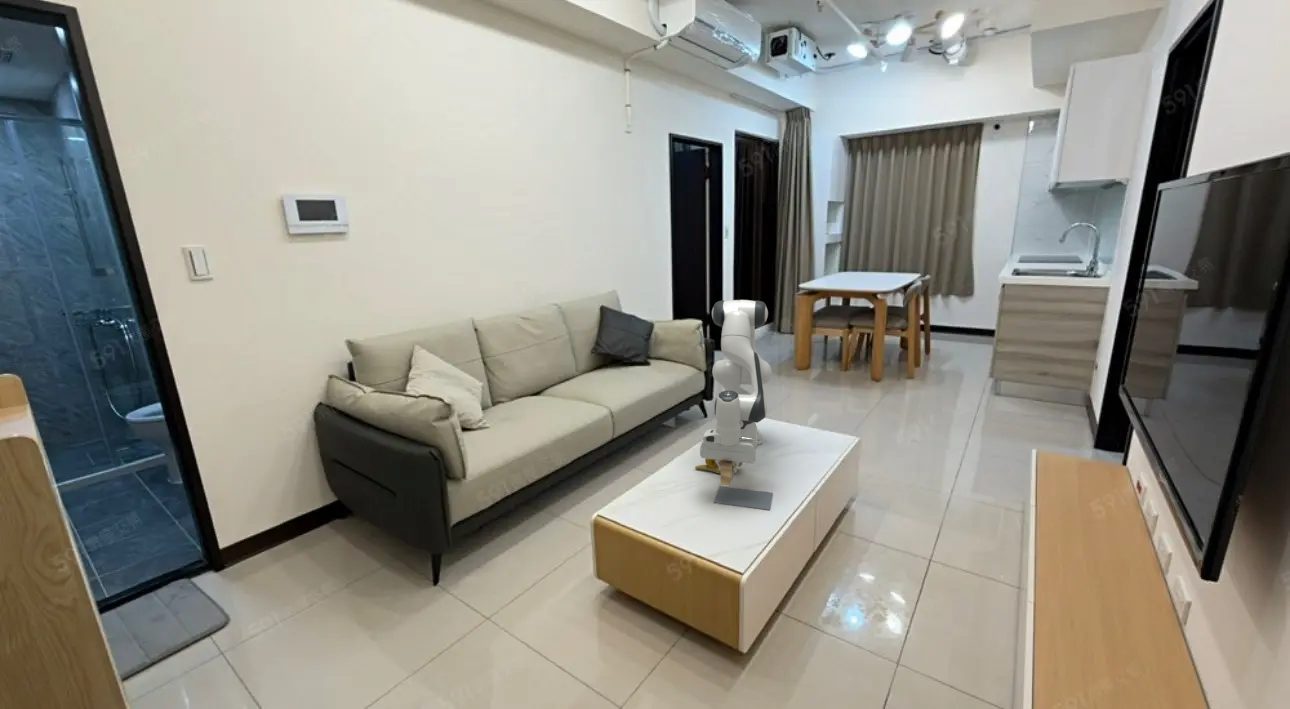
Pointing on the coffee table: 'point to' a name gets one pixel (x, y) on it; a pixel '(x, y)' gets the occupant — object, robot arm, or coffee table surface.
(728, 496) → the mat
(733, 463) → the slab
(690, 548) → the coffee table surface
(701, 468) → the toy
